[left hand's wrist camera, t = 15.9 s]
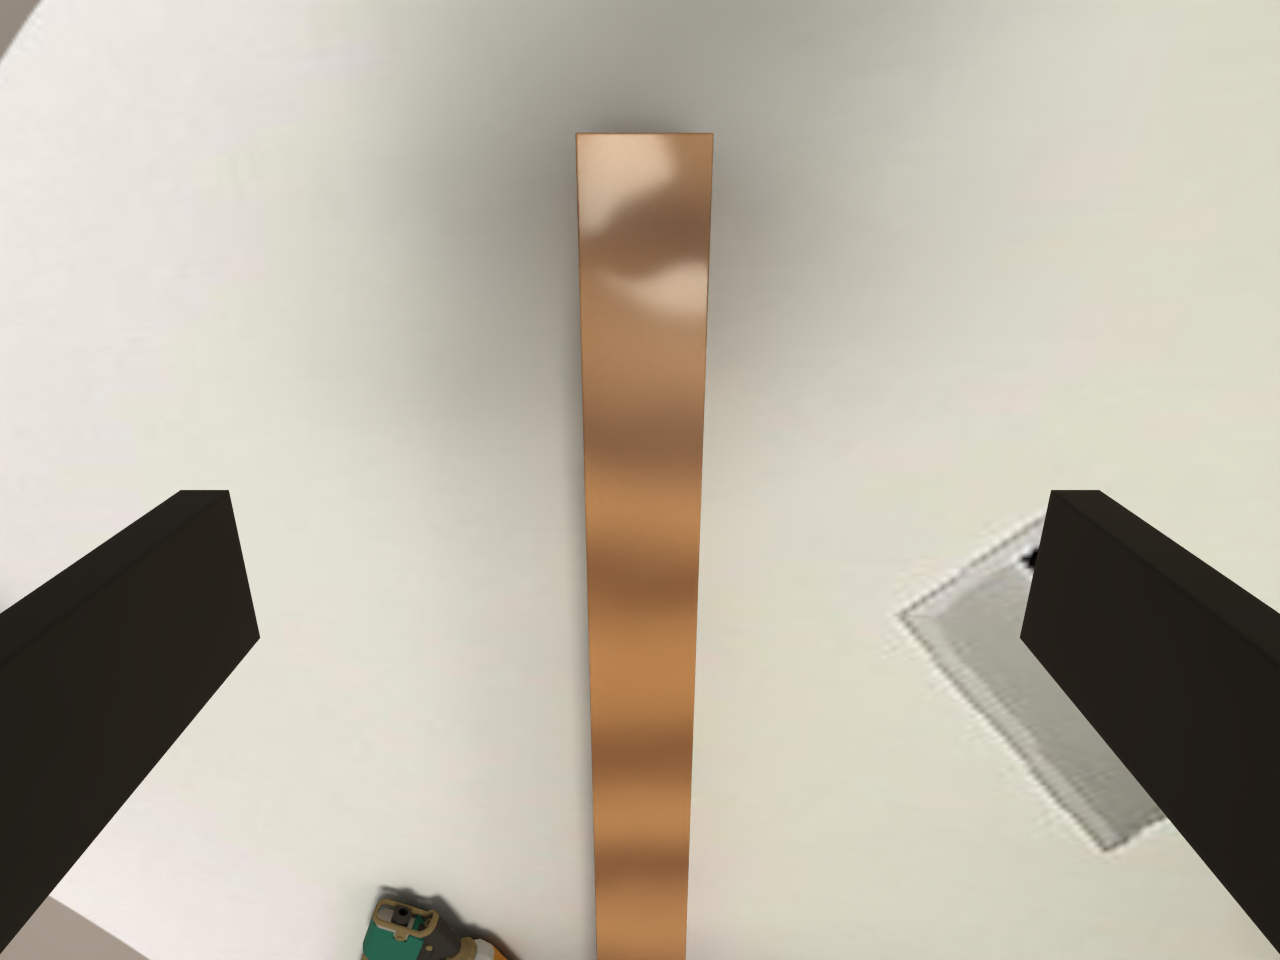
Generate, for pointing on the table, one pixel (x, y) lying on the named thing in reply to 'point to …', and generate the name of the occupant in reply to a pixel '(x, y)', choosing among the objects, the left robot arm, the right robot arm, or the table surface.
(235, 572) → the left robot arm
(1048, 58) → the table surface
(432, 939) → the spray gun
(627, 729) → the wooden beam
